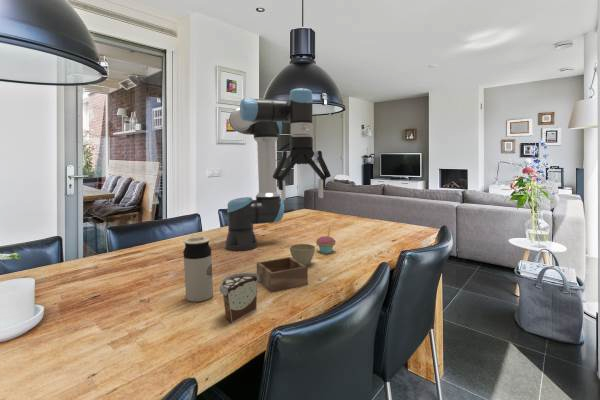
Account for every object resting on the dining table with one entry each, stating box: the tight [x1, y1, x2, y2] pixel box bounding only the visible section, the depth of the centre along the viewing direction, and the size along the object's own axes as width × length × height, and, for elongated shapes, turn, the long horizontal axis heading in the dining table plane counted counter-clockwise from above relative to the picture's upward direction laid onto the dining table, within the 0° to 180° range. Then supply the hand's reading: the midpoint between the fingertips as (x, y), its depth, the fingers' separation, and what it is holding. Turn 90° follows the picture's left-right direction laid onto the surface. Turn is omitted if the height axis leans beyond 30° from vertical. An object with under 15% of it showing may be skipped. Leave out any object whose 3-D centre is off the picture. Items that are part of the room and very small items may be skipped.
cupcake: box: [315, 226, 336, 254], centre depth 146 cm, size 9×8×12 cm
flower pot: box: [289, 243, 316, 267], centre depth 130 cm, size 10×10×7 cm
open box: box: [256, 256, 309, 293], centre depth 112 cm, size 13×13×6 cm
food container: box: [219, 272, 260, 324], centre depth 89 cm, size 12×6×10 cm, turn 145°
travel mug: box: [183, 236, 214, 303], centre depth 100 cm, size 8×8×18 cm
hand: (302, 198), depth 115 cm, fingers open, 13 cm apart
